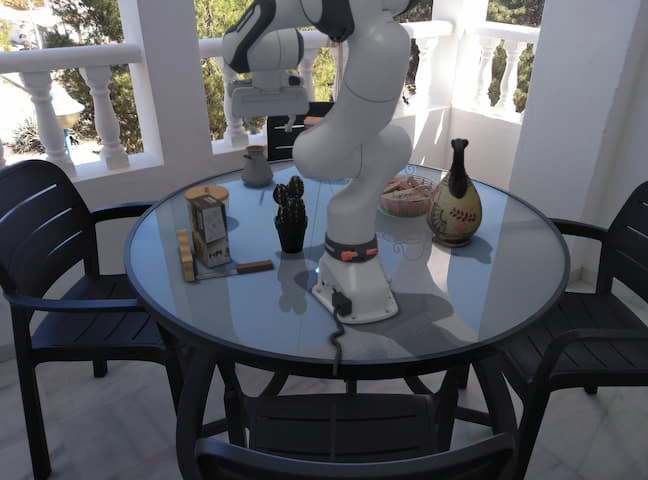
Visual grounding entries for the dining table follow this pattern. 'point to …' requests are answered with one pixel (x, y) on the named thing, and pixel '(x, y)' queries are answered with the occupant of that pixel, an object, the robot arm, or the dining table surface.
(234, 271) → the table knife
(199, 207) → the coffee box
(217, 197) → the lidded bowl
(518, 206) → the dining table surface
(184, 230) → the oak rail
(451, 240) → the ceramic jug
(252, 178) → the coffee pot
